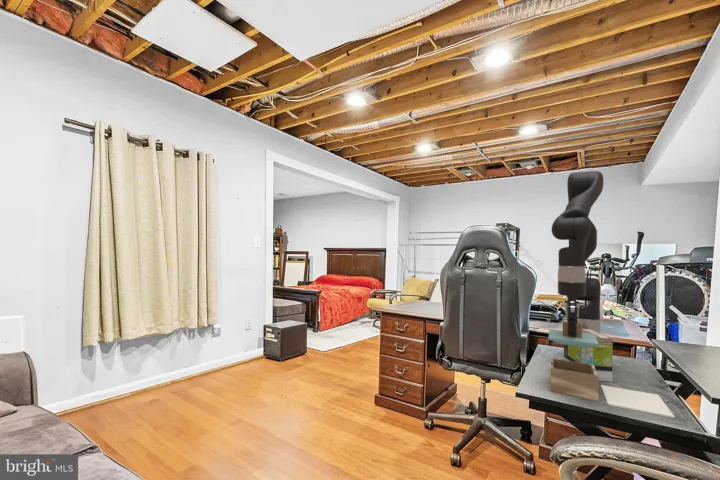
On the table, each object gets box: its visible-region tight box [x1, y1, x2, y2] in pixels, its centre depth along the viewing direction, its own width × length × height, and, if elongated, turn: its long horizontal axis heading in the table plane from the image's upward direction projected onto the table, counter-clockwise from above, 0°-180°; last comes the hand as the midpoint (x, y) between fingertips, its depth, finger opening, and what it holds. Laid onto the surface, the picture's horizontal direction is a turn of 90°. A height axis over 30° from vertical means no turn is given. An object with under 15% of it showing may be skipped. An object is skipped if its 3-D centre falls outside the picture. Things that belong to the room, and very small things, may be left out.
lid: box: [548, 321, 599, 348], centre depth 105 cm, size 13×13×6 cm
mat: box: [600, 384, 676, 419], centre depth 97 cm, size 16×14×1 cm
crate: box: [550, 358, 599, 401], centre depth 104 cm, size 12×12×7 cm
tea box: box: [563, 329, 614, 382], centre depth 119 cm, size 15×10×15 cm
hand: (571, 334), depth 105 cm, fingers closed on lid, 3 cm apart
